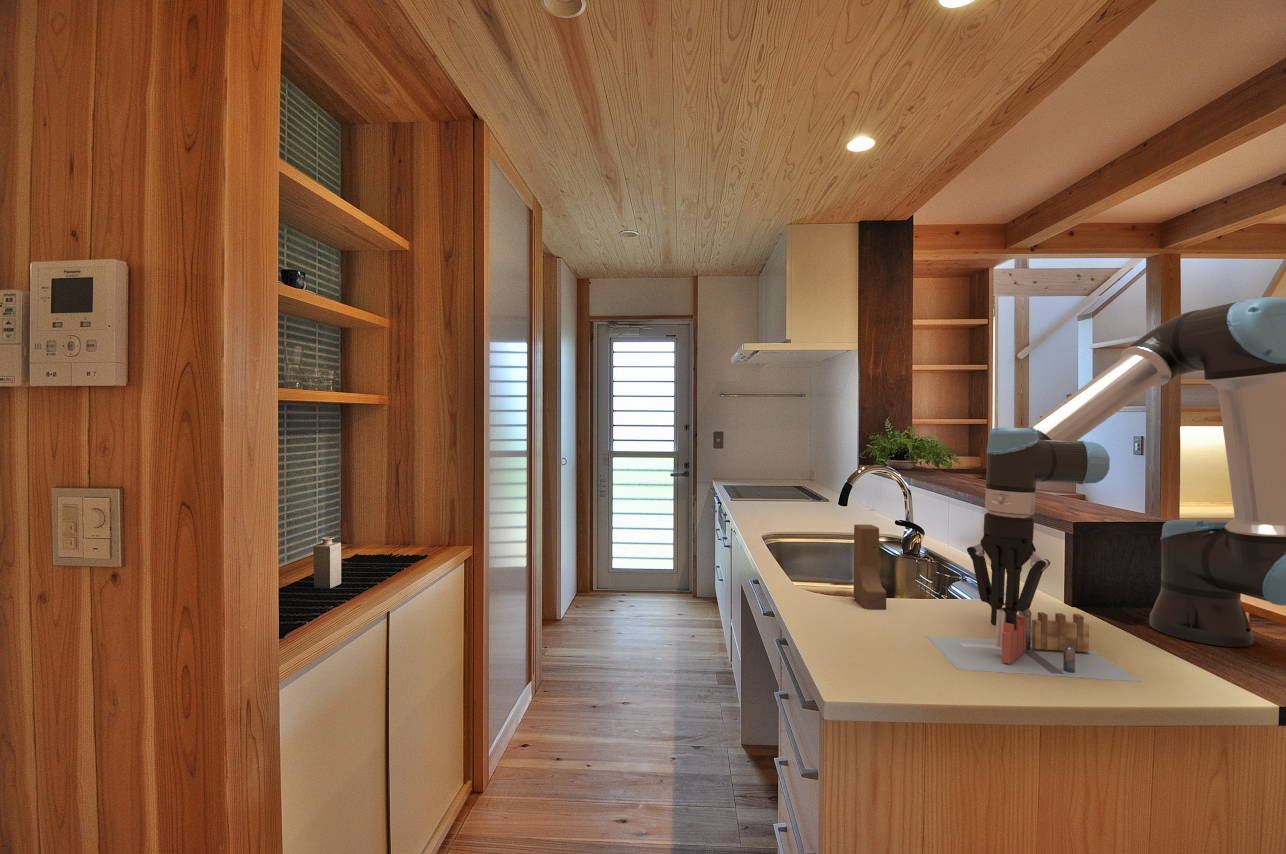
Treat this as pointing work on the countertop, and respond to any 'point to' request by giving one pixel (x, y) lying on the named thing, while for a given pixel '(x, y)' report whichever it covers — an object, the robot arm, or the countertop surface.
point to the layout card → (1025, 660)
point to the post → (1027, 627)
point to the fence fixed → (1060, 633)
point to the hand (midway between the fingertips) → (1002, 645)
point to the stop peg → (1069, 659)
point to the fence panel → (1013, 640)
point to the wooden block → (867, 568)
